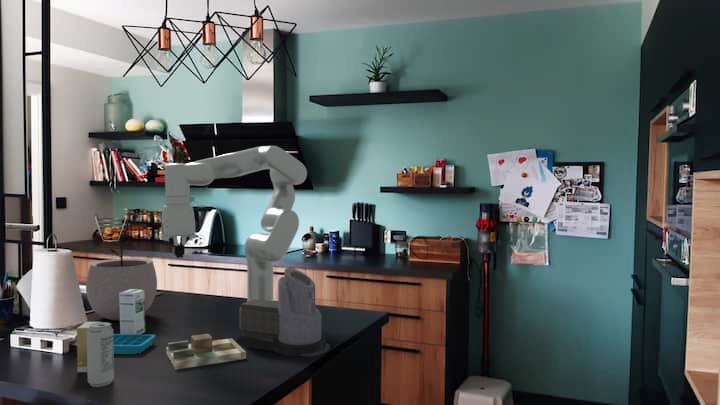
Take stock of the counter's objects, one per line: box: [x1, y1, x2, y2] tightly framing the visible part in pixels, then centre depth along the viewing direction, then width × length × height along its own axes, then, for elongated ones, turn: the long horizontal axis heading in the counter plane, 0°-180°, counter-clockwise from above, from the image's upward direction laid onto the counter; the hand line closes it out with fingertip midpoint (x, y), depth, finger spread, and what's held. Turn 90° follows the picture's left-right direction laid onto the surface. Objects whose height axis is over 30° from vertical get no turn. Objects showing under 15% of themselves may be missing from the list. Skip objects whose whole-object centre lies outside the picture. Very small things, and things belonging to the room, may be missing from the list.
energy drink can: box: [86, 321, 115, 388], centre depth 138 cm, size 6×6×15 cm
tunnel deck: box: [166, 337, 247, 370], centre depth 160 cm, size 20×15×4 cm
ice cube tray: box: [75, 333, 156, 355], centre depth 167 cm, size 12×20×3 cm, turn 88°
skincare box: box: [76, 321, 100, 373], centre depth 149 cm, size 6×4×12 cm
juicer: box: [234, 267, 331, 358], centre depth 171 cm, size 30×16×24 cm, turn 68°
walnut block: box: [190, 333, 213, 354], centre depth 159 cm, size 5×5×4 cm
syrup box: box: [119, 289, 146, 334], centre depth 182 cm, size 6×6×14 cm
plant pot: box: [85, 236, 158, 321], centre depth 201 cm, size 24×24×30 cm
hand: (179, 257), depth 180 cm, fingers closed
